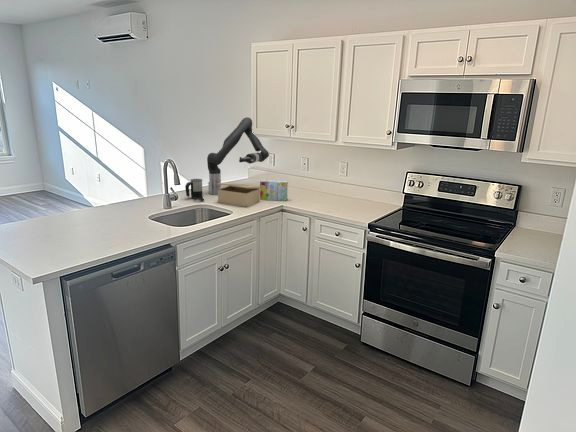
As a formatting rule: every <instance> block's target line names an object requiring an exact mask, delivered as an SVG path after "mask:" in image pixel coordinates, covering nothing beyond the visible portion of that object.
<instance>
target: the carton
mask: <svg viewBox="0 0 576 432" xmlns="http://www.w3.org/2000/svg"><path fill="white" fill-rule="evenodd" d="M217 202H218V203H219V204H224V205H231V206H235V207H236V206H237V207H245V208H249V207H251V206H253V205H255V204H258V203H260V189H258V188H241V187H234V186H226V187H221V189H219V190H218V195H217Z"/></svg>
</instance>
